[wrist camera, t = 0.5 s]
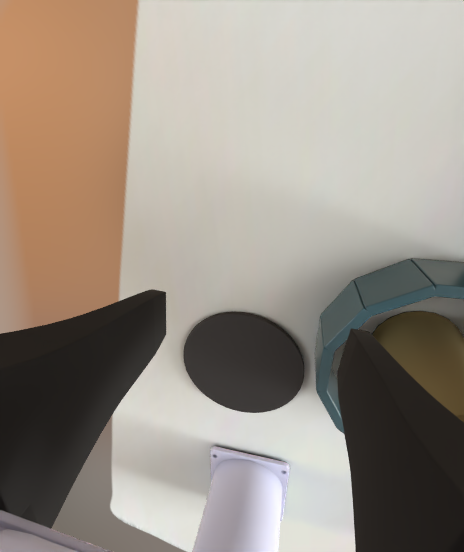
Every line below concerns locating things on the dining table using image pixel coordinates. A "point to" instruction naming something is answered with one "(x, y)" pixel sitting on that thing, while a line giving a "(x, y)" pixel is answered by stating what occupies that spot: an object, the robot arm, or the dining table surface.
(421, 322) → the tan game pawn
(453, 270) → the teal hollow ring
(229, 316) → the black mat
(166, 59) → the dining table surface
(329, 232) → the dining table surface
